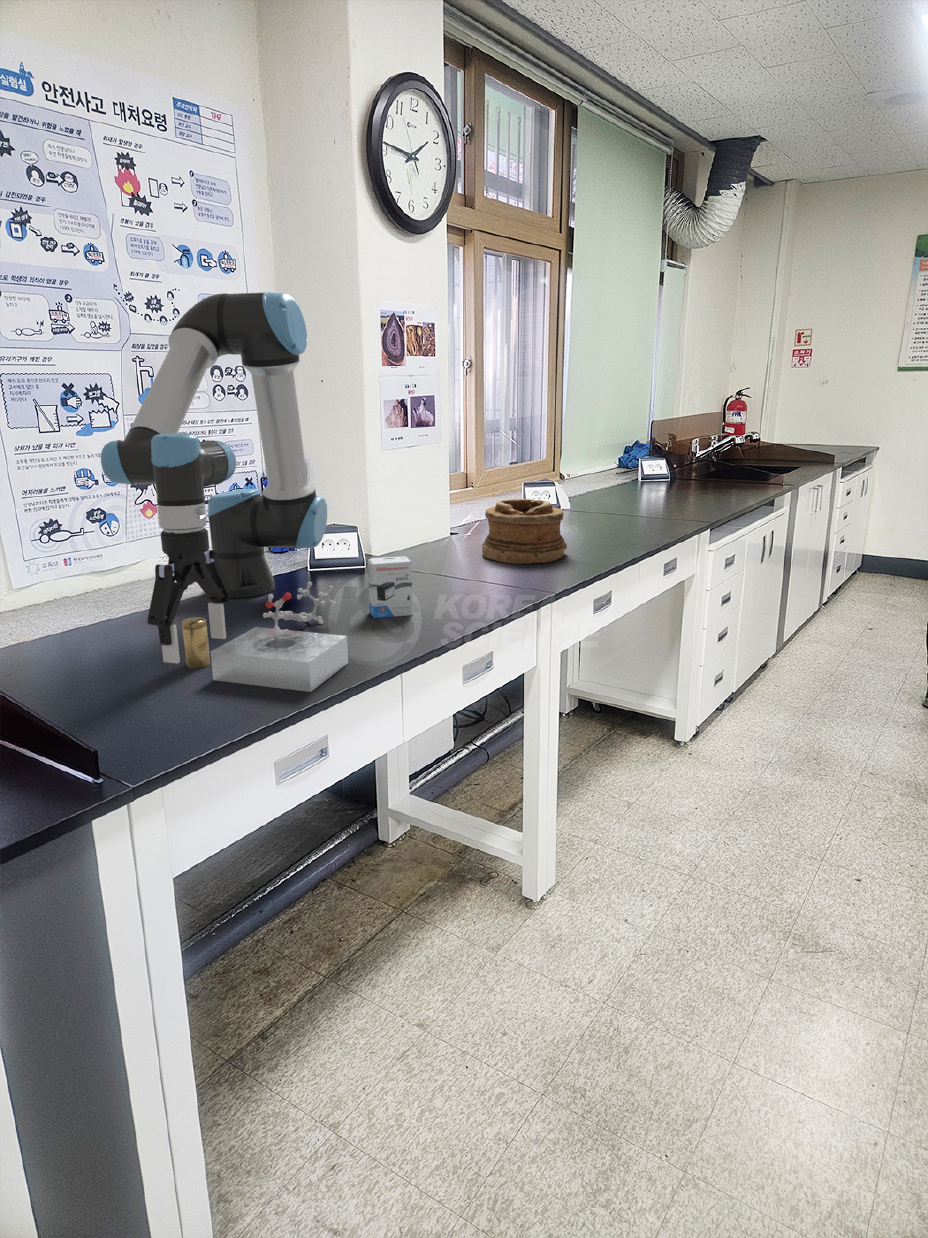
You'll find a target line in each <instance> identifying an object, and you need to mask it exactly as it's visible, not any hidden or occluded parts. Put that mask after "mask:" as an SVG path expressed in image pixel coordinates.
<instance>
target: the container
mask: <svg viewBox="0 0 928 1238" xmlns="http://www.w3.org/2000/svg"><path fill="white" fill-rule="evenodd" d="M484 514H485V515H484V516H485V518H486V519H487V522H488V523H487V524H488V534H487V535H486V537H485V538H484V541H483V542H482V543H481V547H482V549H481V550H482V551H481V552H482V556H483V557H484V558H486V559H489V560H493V561H496V562H501V563H507V564H515V565H529V564H530V565H531V564H542V563H543V564H544V563H546V564H547V563H551V562H554V561H557V560H559V559H561V558H563V557H564V554H565V550H567V547H568V544H567V543H566V542H565V539H564V537H563V536H562V535H561V522H562V520H563V519H564V510H562V509H561V508H558V507H556V506H553V505H552V503H551V502H550V501H546V500H541V499H540V500H539V499H530V498H520V499H519V498H511V499H502V500H500V501H497V502H496V504H495V506H492V507H489V508H486V510H485V513H484Z"/></svg>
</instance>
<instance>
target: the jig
mask: <svg viewBox="0 0 928 1238" xmlns="http://www.w3.org/2000/svg"><path fill="white" fill-rule="evenodd" d="M348 650H349V649H348V635H344V634H343V635H341V634H331V633H322V632H321V633H320V632H311V631H301V630H291V629H288V630H285V629H282V628H280V629H273V628H268V627H259V626H255V627H254V628H251V629H249V630H248V631H246V632H244V633H242V634H240V635H239V636H236V637H235V638H232V639H231V640H230V641H229V640H228V641H227V642H226V643H224V644H222V645H221V646H218V647H217V648H215V649H213V650H211V651H210V663H211V671H212V680H213V681H216V682H227V683H233V684H234V683H235V684H242V685H248V686H249V685H250V686H258V687H264V688H265V687H266V688H276V689H282V690H283V689H284V690H290V691H291V690H292V691H301V692H308V693H312V692H313V691H314V690H315V689H317V688H318V687H320V686H321V685H322V684H323V683H324V682H326V681H327V680H328V679H329V678H331V677H332V676H334V675H335V674H337V672H339V671H340V670H341V669H343V668H344V667H345V666H346V665H348V664H349V651H348Z"/></svg>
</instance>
